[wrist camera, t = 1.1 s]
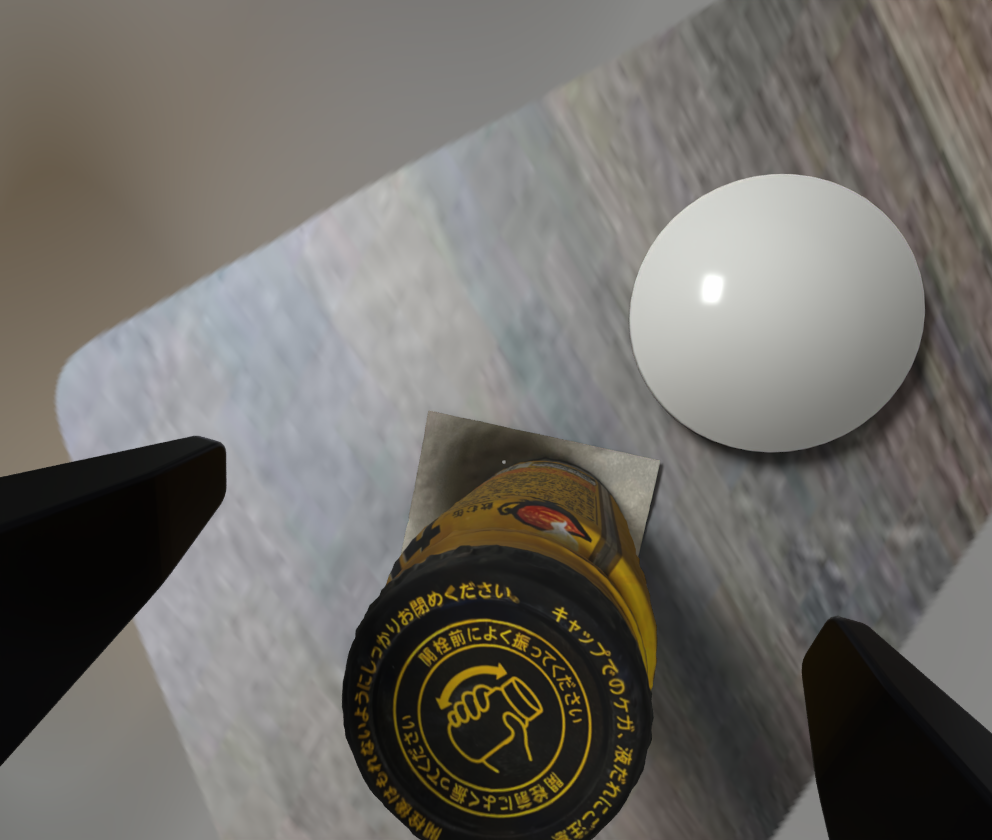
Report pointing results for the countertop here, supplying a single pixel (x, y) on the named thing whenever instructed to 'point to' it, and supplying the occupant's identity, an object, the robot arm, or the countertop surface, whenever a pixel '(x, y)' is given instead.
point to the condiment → (509, 641)
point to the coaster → (777, 313)
